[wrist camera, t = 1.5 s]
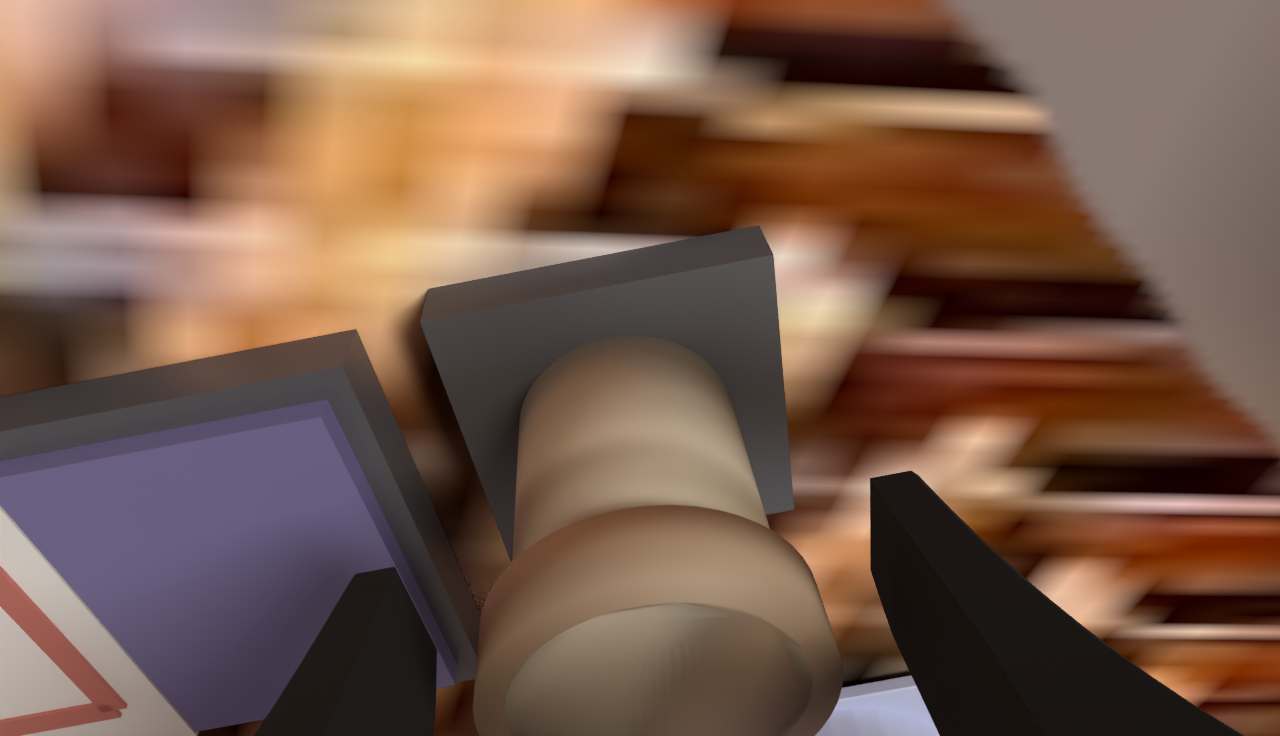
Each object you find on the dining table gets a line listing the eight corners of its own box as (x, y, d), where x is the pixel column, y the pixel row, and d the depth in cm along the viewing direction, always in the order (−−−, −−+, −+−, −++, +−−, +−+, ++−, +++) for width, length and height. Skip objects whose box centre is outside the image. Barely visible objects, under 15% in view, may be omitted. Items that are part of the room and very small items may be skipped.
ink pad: (489, 634, 20) (484, 696, 19) (211, 684, 20) (186, 750, 19) (356, 329, 15) (336, 383, 14) (-15, 400, 15) (-72, 461, 14)
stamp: (780, 470, 18) (887, 782, 12) (513, 520, 18) (495, 852, 12) (758, 223, 15) (891, 498, 9) (428, 287, 15) (350, 598, 9)
